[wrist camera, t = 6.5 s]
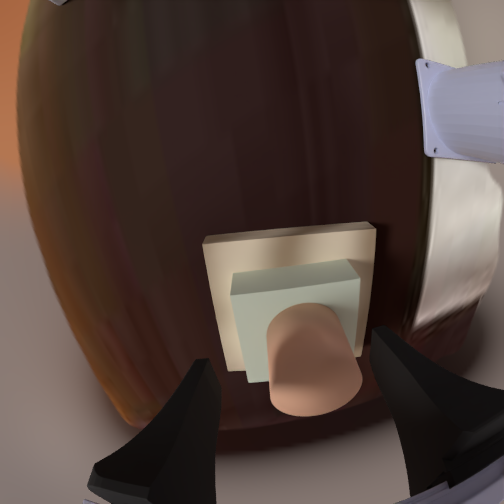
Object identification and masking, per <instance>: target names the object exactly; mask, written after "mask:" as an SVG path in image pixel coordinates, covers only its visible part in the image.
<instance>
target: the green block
mask: <svg viewBox="0 0 504 504" xmlns="http://www.w3.org/2000/svg"><path fill="white" fill-rule="evenodd" d="M359 294H360V277H359V276H358V274H357V273H356V272H355V270H354V269H353V267H352V266H351V265H350V263H349V262H348V260H347V259H340V260H333V261H325V262H318V263H310V264H302V265H295V266H287V267H279V268H271V269H262V270H254V271H246V272H237V273H233V276H232V284H231V291H230V298H231V303H232V308H233V313H234V318H235V323H236V327H237V332H238V337H239V341H240V346H241V351H242V355H243V360H244V364H245V369H246V373H247V378H248V382H249V383H251V382H262V381H269V368H268V353H267V338H266V334H267V329H268V326H269V324H270V323H271V321H272V320H273V318H274V317H275V316H276V315H277V314H279V313H280V312H281V311H283V310H285V309H286V308H288V307H291V306H293V305H297V304H301V303H318V304H322V305H324V306H327V307H329V308H330V309H332V310H333V311H334V312H335V313H336V315H337V316H338V318H339V320H340V323H341V325H342V327H343V330H344V332H345V335H346V337H347V339H348V342H349V344H350V347H351V349H352V352H353V354H354V347H355V339H356V329H357V319H358V308H359Z"/></svg>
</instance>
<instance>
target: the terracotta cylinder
mask: <svg viewBox="0 0 504 504" xmlns="http://www.w3.org/2000/svg"><path fill="white" fill-rule="evenodd" d="M266 338H267V353H268V368H269V384H270V398H271V401H272V403H273V405H274V406H275V407H276V408H277V409H278V410H280V411H282V412H284V413H286V414H290V415H294V416H315V415H320V414H324V413H328V412H330V411H333V410H335V409H337V408H339V407H341V406H343V405H344V404H346V403H347V402H349V401H350V400H351V399H352V398H353V397H354V396H355V395H356V394H357V392H358V391H359V389H360V387H361V384H362V374H361V372H360V369H359V367H358V364H357V362H356V359H355V357H354V354H353V352H352V349H351V347H350V344H349V342H348V339H347V337H346V335H345V332H344V330H343V327H342V325H341V323H340V320H339V318H338V316H337V315H336V313H335V312H334V311H333V310H332V309H330V308H329V307H327V306H324V305H322V304H318V303H301V304H297V305H293V306H291V307H288V308H286V309H285V310H283V311H281V312H280V313H279V314H277V315H276V316H275V317H274V318H273V320H272V321H271V323H270V324H269V326H268V329H267V334H266Z"/></svg>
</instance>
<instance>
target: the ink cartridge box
mask: <svg viewBox="0 0 504 504" xmlns="http://www.w3.org/2000/svg"><path fill="white" fill-rule="evenodd" d="M50 1H51V2H53V3H55V4H57V5H58V6H59V5H62V4H63V3H64V2H66V1H67V0H50Z"/></svg>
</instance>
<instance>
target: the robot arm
mask: <svg viewBox="0 0 504 504" xmlns="http://www.w3.org/2000/svg"><path fill="white" fill-rule="evenodd" d="M425 64H427V66H428V68H427V67H426V65H425ZM416 69H417V75H418V82H419V89H420V97H421V107H422V118H423V133H424V152H425V154H426V155H427V156H429V157H440V158H452V159H463V160H472V161H480V162H488V163H501V164H504V61H496V62H489V63H483V64H477V65H471V66H466V67H461V68H454V67H450V66H447V65H444V64H440V63H437V62H433V61H429V60H425V59H417V60H416ZM434 148H435V149H436V152H435V153H434ZM369 361H370V364H371V367H372V370H373V373H374V376H375V379H376V381H377V383H378V386H379V388H380V390H381V392H382V394H383V396H384V399H385V401H386V403H387V405H388V407H389V409H390V412H391V414H392V416H393V419H394V421H395V424H396V428H397V431H398V434H399V438H400V442H401V446H402V450H403V454H404V459H405V464H406V469H407V475H408V482H409V490H410V496H411V497H410V498H408V499H405V500H403V501H400V502H397V503H395V504H499V503H501V502H502V501H503V500H504V390H501V389H496V388H491V387H488V386H484V385H481V384H478V383H475V382H472V381H470V380H467V379H465V378H463V377H460V376H458V375H456V374H454V373H452V372H449V371H448V370H446V369H444V368H442V367H441V366H439V365H437V364H436V363H434V362H433V361H431V360H429V359H428V358H426V357H425V356H424V355H422V354H421V353H419V352H418V351H417V350H415V349H414V348H413V347H411V346H410V345H409V344H408V343H406V342H405V341H404V340H403V339H401V338H400V337H399V336H398V335H396V334H395V333H394V332H393V331H391V330H390V329H389V328H388V327H386V326H385V325H383V326H379V327H376V328H372V337H371V350H370V360H369ZM220 413H221V385H220V383H219V381H218V379H217V376H216V374H215V372H214V369H213V367H212V365H211V363H210V360H209V358H206V359H196V360H195V361H194V363H193V364H192V366H191V367H190V369H189V370H188V372H187V374H186V375H185V377H184V378H183V380H182V381H181V383H180V385H179V386H178V387H177V389H176V390H175V392H174V393H173V395H172V396H171V398H170V399H169V400H168V402H167V403H166V404H165V405H164V407H163V408H162V409H161V411H160V412H159V413H158V414H157V415H156V416H155V418H154V419H153V420H152V421H151V422H150V423H149V424H148V425H147V426H146V427H145V428H144V429H143V430H142V431H141V432H140V433H139V434H138V435H136V436H135V437H134V438H133V439H132V440H131V441H129V442H128V443H127V444H125V445H124V446H123V447H121V448H120V449H118V450H117V451H115V452H114V453H112V454H111V455H109V456H107V457H106V458H104V459H102V460H100V461H99V462H97V463H95V464H94V467H93V469H92V473H91V475H90V478H89V481H88V484H87V487H88V489H89V490H90V491H92V492H93V493H94V494H96V495H98V496H99V497H101V498H103V499H104V500H106V501H108V502H110V503H111V504H216V489H215V451H216V441H217V435H218V428H219V420H220ZM83 504H98V503H95V502H92V501H89V500H87V499H84V501H83Z"/></svg>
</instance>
